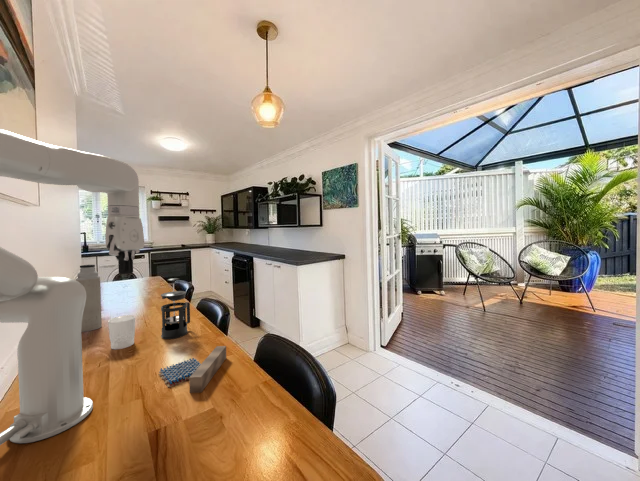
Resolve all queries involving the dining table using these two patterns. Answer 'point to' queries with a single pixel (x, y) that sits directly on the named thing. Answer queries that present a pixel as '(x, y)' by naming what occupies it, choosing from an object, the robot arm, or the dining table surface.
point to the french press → (174, 324)
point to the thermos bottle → (90, 298)
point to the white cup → (121, 331)
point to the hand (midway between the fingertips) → (126, 273)
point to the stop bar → (207, 369)
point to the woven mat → (179, 372)
